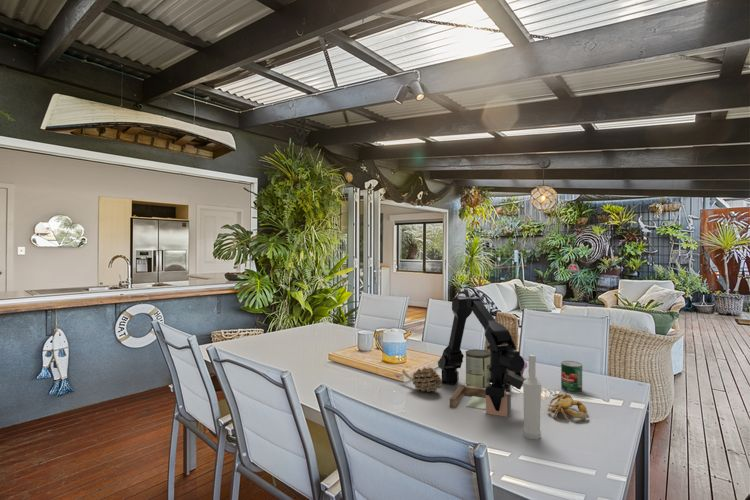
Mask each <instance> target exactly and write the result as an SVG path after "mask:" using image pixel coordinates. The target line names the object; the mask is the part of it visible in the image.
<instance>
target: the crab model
mask: <svg viewBox="0 0 750 500" xmlns="http://www.w3.org/2000/svg"><path fill="white" fill-rule="evenodd" d="M552 396H553V398H552V399H551V400H550V401H549V404H548V406H549V407H548V408H547V412H548V413H550V412H553V411H554V414H553V420H554V419H556V417H557V415H558V414H559V412H561V414H562V416H563V417H564V418H565V419H566V421H567V422H570V420H569V417H568V415H570V416H571V417H574V418H576V419H579V420H586V419H588V418H589V414H588V410H587V407H586V405H585V404H584V403H583V402H582V401H579V400H574V399H573V397H572V396H571V394H568V392H565V394H563V393H555V394H552ZM555 400H556V401H555ZM554 401H555V402H554ZM553 402H554V404H552V403H553ZM573 406H577V409H578V411H576V410H572V409H570V408H571V407H573ZM567 414H568V415H567Z"/></svg>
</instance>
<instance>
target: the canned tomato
mask: <svg viewBox="0 0 750 500" xmlns="http://www.w3.org/2000/svg"><path fill="white" fill-rule="evenodd" d="M560 367H561V368H560V373H561V374H560V377H561V378H560V381H561V382H560V384H561V386H560V387H561V388H560V390H562V391H563V392H565V393H567V394H573V395H575V394H577V395H578V394H582V393H583V364H582V362H578V361H572V360H563V361H560Z"/></svg>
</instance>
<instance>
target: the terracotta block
mask: <svg viewBox="0 0 750 500" xmlns="http://www.w3.org/2000/svg"><path fill="white" fill-rule="evenodd" d="M485 398H486V410H485V414H490V415H493V416H494V415H495V416H496V415H497V416H501V417H508V418H510V417H511V414H512V392H510V391H508V392H506V395H505V397H503V398H502V399H501V404H500V409H499V411H496V410H495V407H494V405H493V403H492V401H491V399H490V397H489V395H486V397H485Z"/></svg>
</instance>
